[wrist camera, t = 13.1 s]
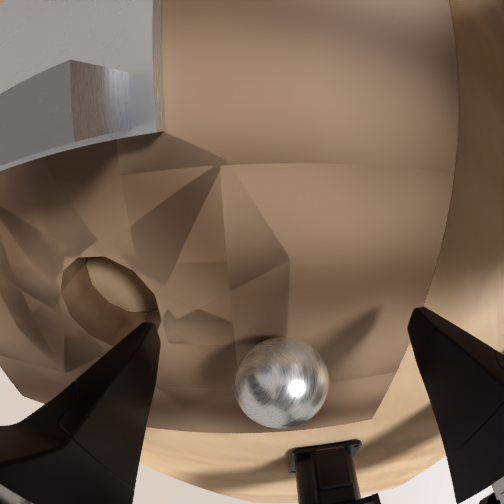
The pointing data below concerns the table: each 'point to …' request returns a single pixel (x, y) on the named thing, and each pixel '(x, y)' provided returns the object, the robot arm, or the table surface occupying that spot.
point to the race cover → (77, 74)
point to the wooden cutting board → (247, 208)
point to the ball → (281, 382)
